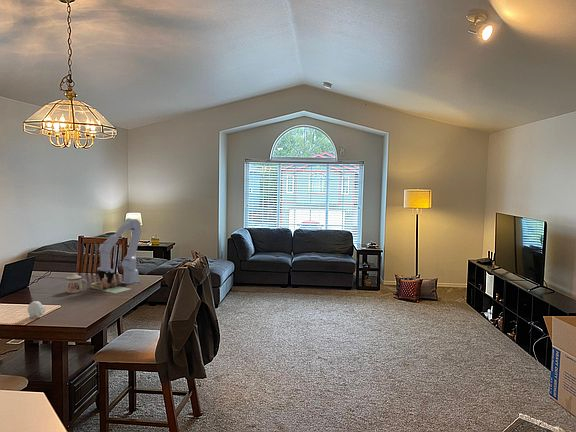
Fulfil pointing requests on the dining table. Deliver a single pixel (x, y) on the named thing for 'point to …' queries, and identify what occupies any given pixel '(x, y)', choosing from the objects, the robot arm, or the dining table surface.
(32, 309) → the white lumpy piece
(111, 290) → the felt mat
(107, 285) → the terracotta jug
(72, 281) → the teacup with lid
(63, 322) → the dining table surface
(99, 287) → the frame
